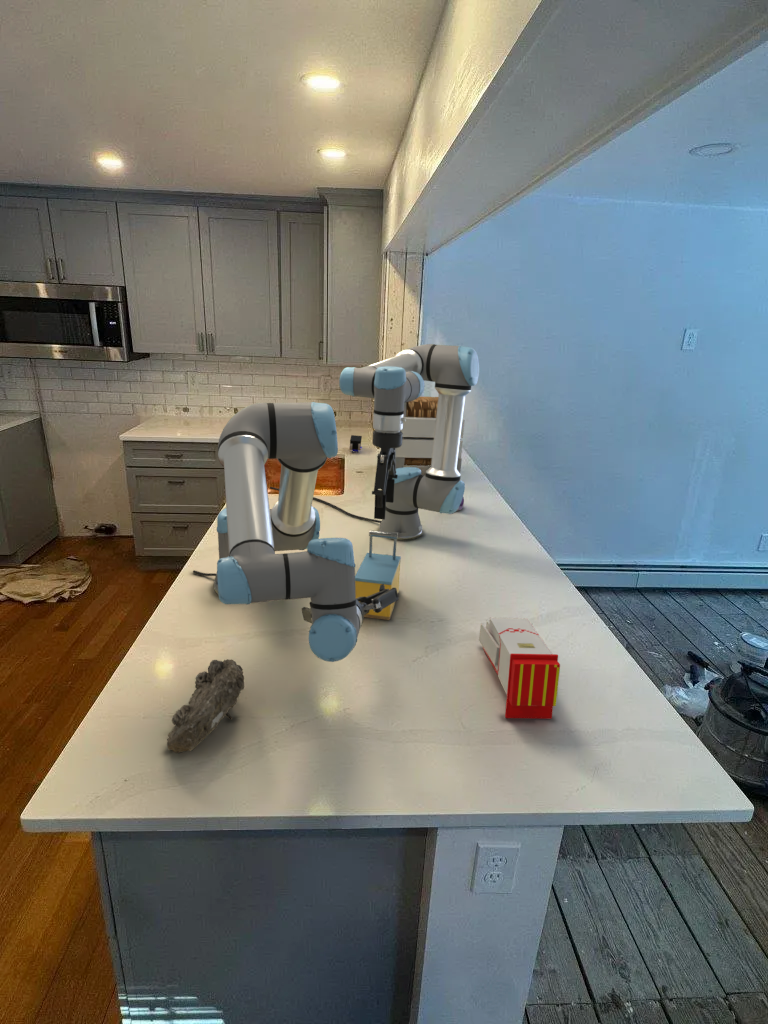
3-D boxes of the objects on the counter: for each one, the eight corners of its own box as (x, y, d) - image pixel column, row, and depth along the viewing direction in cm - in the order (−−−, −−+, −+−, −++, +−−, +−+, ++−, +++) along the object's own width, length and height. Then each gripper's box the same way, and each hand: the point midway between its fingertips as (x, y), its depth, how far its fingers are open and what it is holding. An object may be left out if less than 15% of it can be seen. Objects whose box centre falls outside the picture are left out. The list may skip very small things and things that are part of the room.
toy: (525, 603, 136) (569, 660, 107) (520, 654, 139) (562, 725, 109) (475, 601, 135) (505, 659, 106) (471, 653, 138) (499, 724, 109)
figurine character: (361, 456, 305) (361, 447, 319) (361, 443, 302) (362, 434, 315) (348, 456, 305) (350, 446, 318) (349, 442, 302) (350, 433, 315)
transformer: (382, 463, 289) (386, 382, 275) (445, 464, 293) (451, 384, 279) (390, 482, 257) (394, 392, 243) (460, 483, 261) (468, 394, 247)
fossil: (192, 660, 117) (244, 628, 112) (224, 691, 120) (276, 661, 115) (142, 746, 98) (202, 712, 93) (182, 779, 101) (242, 748, 96)
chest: (365, 588, 160) (366, 556, 157) (398, 592, 159) (400, 560, 156) (352, 615, 146) (353, 580, 142) (389, 620, 144) (391, 585, 141)
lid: (366, 555, 157) (367, 526, 155) (400, 558, 156) (402, 530, 153) (354, 580, 142) (354, 549, 140) (391, 585, 141) (393, 553, 138)
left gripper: (281, 652, 105) (302, 624, 126) (413, 624, 104) (412, 601, 125) (272, 613, 105) (295, 592, 126) (404, 584, 103) (405, 568, 124)
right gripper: (394, 442, 130) (390, 528, 137) (409, 422, 153) (404, 496, 160) (362, 439, 131) (360, 524, 138) (381, 420, 154) (378, 494, 162)
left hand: (353, 596), depth 125 cm, fingers open, 13 cm apart
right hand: (384, 510), depth 149 cm, fingers open, 13 cm apart
